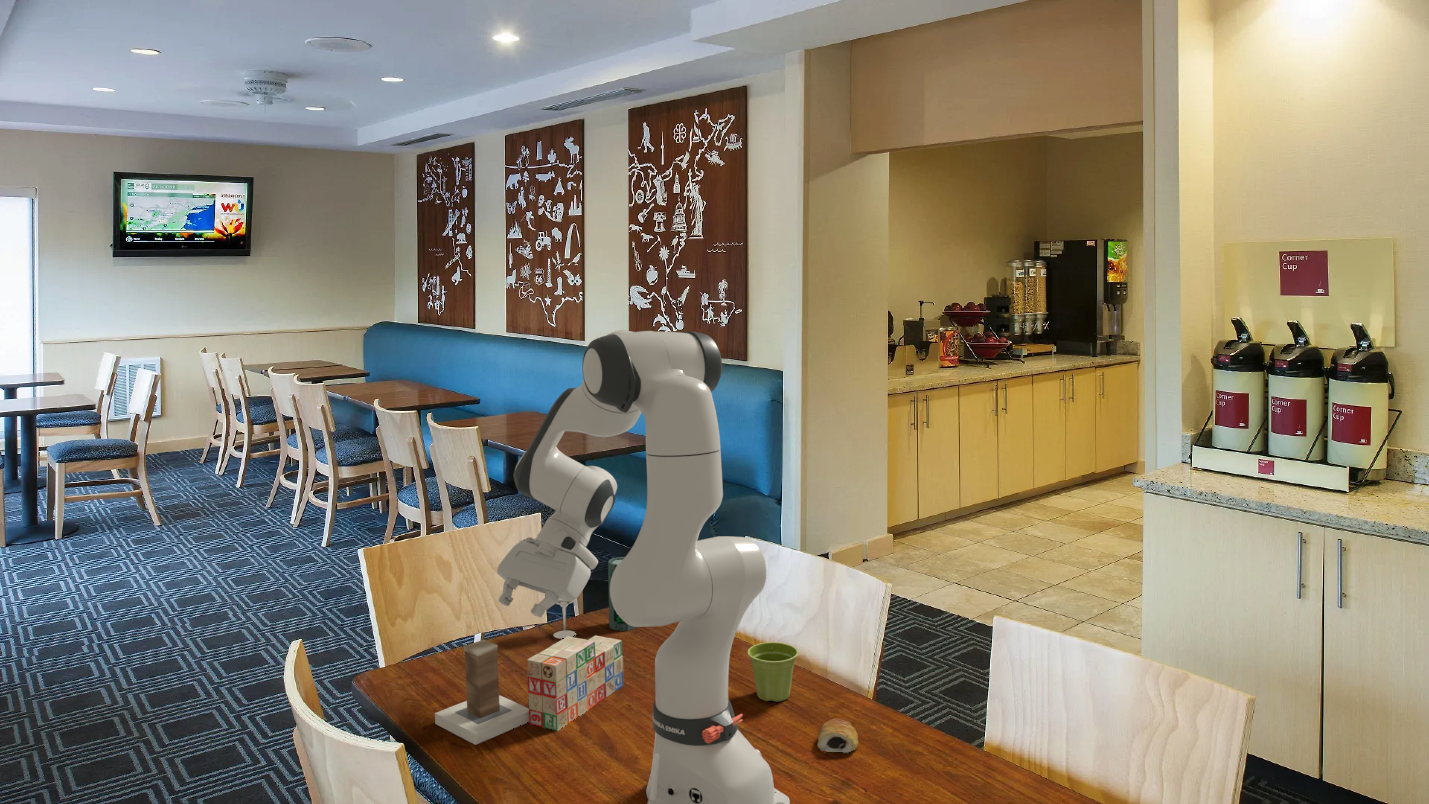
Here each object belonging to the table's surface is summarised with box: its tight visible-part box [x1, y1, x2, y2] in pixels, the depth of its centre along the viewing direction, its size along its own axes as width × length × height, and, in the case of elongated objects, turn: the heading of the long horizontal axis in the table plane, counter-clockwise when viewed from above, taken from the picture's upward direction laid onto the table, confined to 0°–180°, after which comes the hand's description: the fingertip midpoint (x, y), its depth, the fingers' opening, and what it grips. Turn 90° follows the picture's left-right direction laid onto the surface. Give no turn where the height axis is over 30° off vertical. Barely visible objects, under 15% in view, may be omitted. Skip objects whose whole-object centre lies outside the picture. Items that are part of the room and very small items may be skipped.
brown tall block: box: [463, 639, 500, 718], centre depth 177 cm, size 4×4×12 cm
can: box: [607, 556, 637, 632], centre depth 224 cm, size 6×6×15 cm
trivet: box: [434, 694, 529, 746], centre depth 178 cm, size 12×12×2 cm
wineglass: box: [553, 598, 577, 640], centre depth 219 cm, size 7×7×12 cm
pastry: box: [816, 717, 860, 754], centre depth 170 cm, size 9×7×4 cm
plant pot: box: [747, 641, 799, 703], centre depth 187 cm, size 9×9×9 cm
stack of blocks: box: [526, 635, 624, 732], centre depth 184 cm, size 21×6×12 cm, turn 152°
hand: (518, 609), depth 182 cm, fingers open, 8 cm apart
